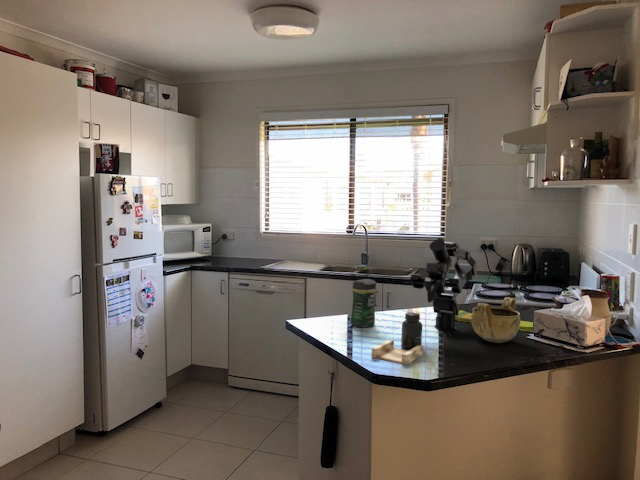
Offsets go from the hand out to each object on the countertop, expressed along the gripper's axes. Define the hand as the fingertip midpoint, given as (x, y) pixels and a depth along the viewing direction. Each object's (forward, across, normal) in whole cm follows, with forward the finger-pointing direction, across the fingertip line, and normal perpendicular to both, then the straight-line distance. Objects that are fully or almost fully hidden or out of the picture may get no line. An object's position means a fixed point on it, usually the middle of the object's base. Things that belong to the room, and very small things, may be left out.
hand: (428, 301), depth 189 cm
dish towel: (-19, +14, +39) cm, 46 cm away
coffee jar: (+8, -28, +12) cm, 32 cm away
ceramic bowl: (0, +20, +19) cm, 28 cm away
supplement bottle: (+20, 0, 0) cm, 20 cm away
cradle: (+28, 0, -8) cm, 29 cm away
